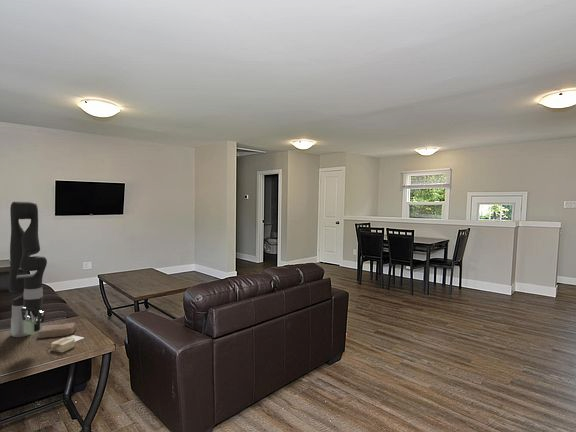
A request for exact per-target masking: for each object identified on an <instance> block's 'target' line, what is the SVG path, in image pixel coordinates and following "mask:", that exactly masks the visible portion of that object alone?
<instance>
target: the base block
mask: <svg viewBox="0 0 576 432" xmlns="http://www.w3.org/2000/svg"><path fill="white" fill-rule="evenodd" d="M75 343H76V342H75V339H68V338H66V337H62V338H60V339H57V340H55V341H53V342H51V343H50V351H51V352H52V351H53V352H58V353H65V352H66V351H68V350H70V349H73V348H74V347H75V346H76V345H75Z"/></svg>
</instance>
